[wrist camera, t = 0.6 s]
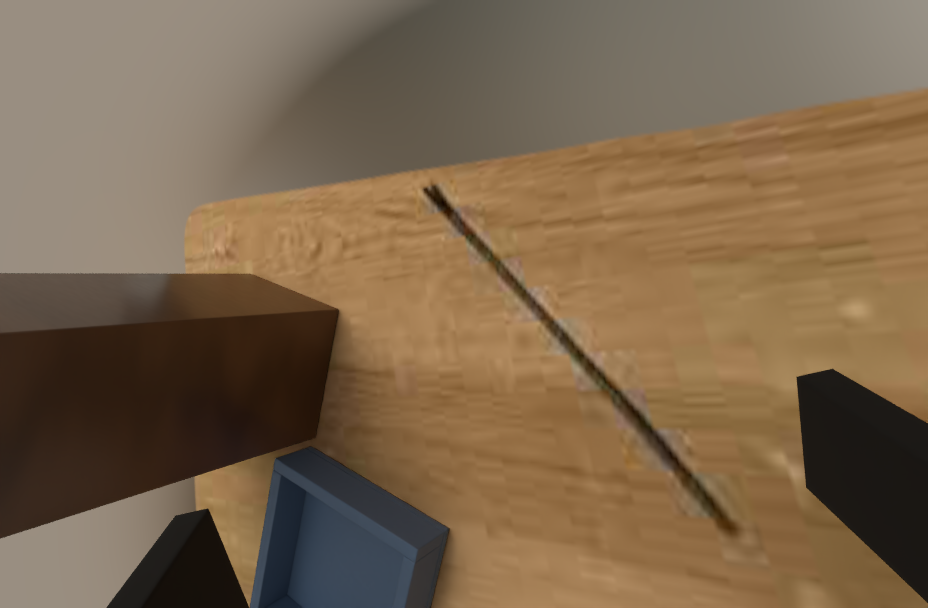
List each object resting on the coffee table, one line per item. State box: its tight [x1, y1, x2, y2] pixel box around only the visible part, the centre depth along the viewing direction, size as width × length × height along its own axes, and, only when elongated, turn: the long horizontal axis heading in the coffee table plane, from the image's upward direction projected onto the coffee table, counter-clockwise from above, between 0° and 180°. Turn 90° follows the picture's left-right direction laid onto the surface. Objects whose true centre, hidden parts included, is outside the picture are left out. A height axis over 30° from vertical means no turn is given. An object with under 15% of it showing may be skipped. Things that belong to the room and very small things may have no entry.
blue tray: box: [250, 446, 449, 608], centre depth 35 cm, size 12×12×3 cm
